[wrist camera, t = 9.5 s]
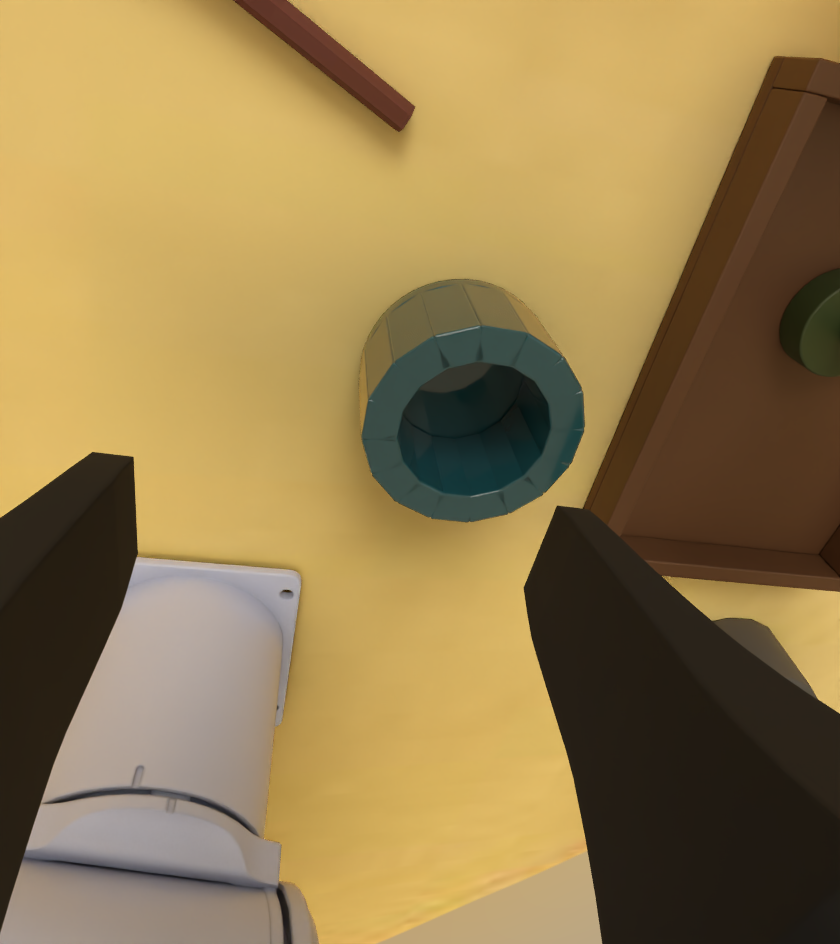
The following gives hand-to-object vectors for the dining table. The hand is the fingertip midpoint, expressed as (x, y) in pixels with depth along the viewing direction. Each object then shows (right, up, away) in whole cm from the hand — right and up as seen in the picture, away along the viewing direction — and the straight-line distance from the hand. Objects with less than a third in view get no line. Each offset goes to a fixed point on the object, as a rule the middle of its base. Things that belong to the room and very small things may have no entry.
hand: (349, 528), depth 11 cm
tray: (+14, +5, +11) cm, 19 cm away
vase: (+2, +4, +10) cm, 11 cm away
